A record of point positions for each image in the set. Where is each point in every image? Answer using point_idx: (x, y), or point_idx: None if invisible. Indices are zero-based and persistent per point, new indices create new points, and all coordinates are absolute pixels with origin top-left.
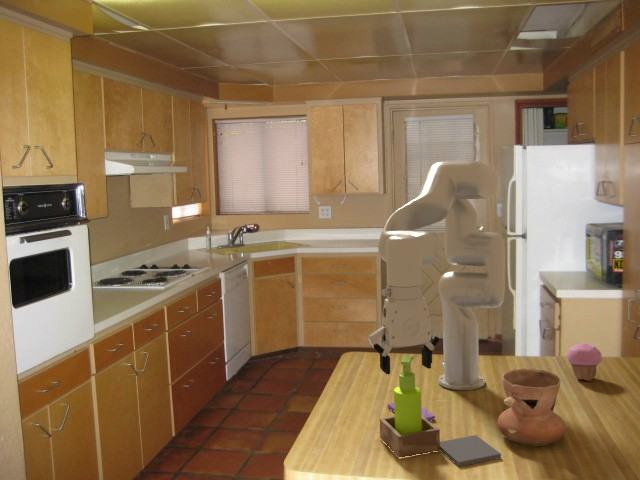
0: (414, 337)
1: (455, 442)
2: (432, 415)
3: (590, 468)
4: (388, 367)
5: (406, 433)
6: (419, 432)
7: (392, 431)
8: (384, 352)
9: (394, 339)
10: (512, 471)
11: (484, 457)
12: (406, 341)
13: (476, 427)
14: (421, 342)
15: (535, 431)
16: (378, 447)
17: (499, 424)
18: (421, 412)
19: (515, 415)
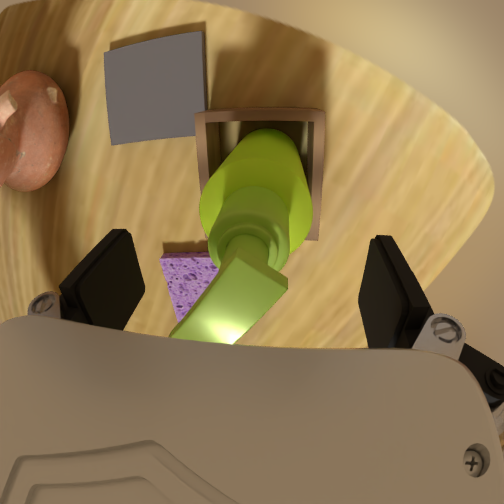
0: (106, 416)
1: (163, 121)
2: (164, 261)
3: (24, 17)
4: (396, 255)
5: (285, 140)
6: (256, 114)
7: (323, 154)
8: (451, 338)
9: (454, 435)
10: (118, 3)
11: (138, 43)
12: (257, 399)
13: (99, 195)
14: (63, 332)
15: (25, 76)
16: (334, 183)
17: (60, 135)
18: (181, 282)
19: (24, 122)
